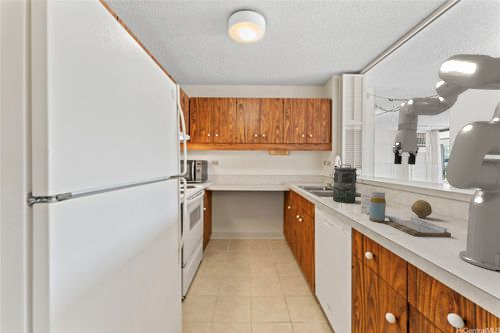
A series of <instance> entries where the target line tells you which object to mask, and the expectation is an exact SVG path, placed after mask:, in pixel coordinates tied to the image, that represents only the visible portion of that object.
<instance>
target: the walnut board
mask: <svg viewBox="0 0 500 333" xmlns="http://www.w3.org/2000/svg"><path fill="white" fill-rule="evenodd" d="M384 224H385V225H387V226H389V227H392V228H395V229H397V230H399V231H401V232H403V233H406V234H408V235H411V236H412V237H441V238H442V237H446V238H450V237H451V236H452V233H451V232H448V231H447V232H444V233H421V232H417V231H415V230H412V229H410V228H407V227H405V226H402V225H400V224H397V223H395V222H392V221H390V220H385V221H384Z"/></svg>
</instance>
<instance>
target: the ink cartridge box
mask: <svg viewBox="0 0 500 333" xmlns="http://www.w3.org/2000/svg"><path fill="white" fill-rule="evenodd" d="M371 191H377V189H371V188H361V193H360V210H359V211H360V214H363V215H367V216H369V210H370V199H371V196H372V195H371Z"/></svg>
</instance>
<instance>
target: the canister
mask: <svg viewBox="0 0 500 333" xmlns="http://www.w3.org/2000/svg"><path fill="white" fill-rule="evenodd" d="M342 166H344V164H340V165H339V167H338V166H335V167H334V168H333V170H334V172H333V188H332V189H333V190H332V200H333V201H334V202H337V203H342V204H346V203H347V204H351V203H352V204H354V203H356V197H357V194H356V193H357V188H356V184H357V177H358V174H357V171H358V169H357V168H356V167H353V168H352V166H351V164H346V167H342ZM347 166H349V167H347Z"/></svg>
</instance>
